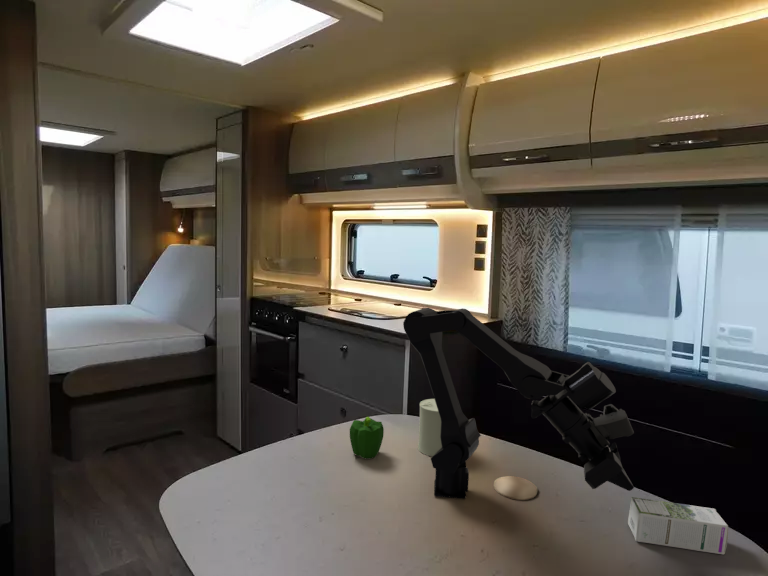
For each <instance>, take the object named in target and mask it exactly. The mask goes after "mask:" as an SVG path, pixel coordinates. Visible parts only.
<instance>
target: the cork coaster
mask: <svg viewBox="0 0 768 576" xmlns="http://www.w3.org/2000/svg"><path fill="white" fill-rule="evenodd" d="M493 488H494V489H493V490H495V491H496V493H498V494H499V495H500V496H503V497H504V498H508V499H512V500H516V501H517V500H518V501H528V500H532V499H534V498H535V497H536V496H537V494H538V488H537V486H536V485H535V484H534V483H533V482H531V481H530V480H528V479H525V478H523V477H518V476H513V475H512V476H511V475H507V476H501V477H498V478H496V479H495V480H494V482H493Z"/></svg>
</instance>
